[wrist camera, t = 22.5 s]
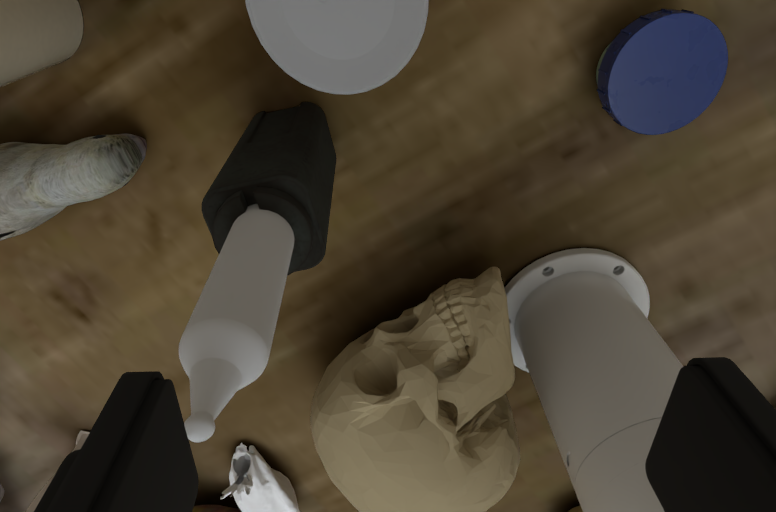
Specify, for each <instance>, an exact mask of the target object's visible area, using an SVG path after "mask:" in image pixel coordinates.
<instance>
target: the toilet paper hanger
mask: <svg viewBox="0 0 776 512" xmlns="http://www.w3.org/2000/svg"><path fill="white" fill-rule="evenodd" d="M4 492H5V491H4V489H3V487H2V485H1V483H0V502H1V500H2V497H3V495H4Z"/></svg>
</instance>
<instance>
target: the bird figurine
mask: <svg viewBox="0 0 776 512" xmlns="http://www.w3.org/2000/svg"><path fill="white" fill-rule="evenodd" d="M229 481H230V486H229V488H227V489H226V490H224V491H223V492H222V494H224V495H223V496H220V499H224V498H225V497H227V496H228V495H229V494H232V495H233V496H234V499H235V502H236V503H237V505H238V507H239V508H240V510H241V511H242V512H301V511H300V510H299V509H298V503H297V498H296V495H295V491H294V489H293V487H292V485H291V482H290V480H289V479H288V478H287V477H286V476H284V475H283V474H282V473H281V472H279V471H276V470H274V469H272V468H271V467H270V466H269V465H268V464H267V462H266V461H265V460H264V459H263V457H262V456H261V455H260V454H259V452H258V451H257V450H256V448H255V447H254V446H253V445H251V446H249V451H247V446H245V445H243V444H242V443H241V444H240V446H237V447H236V453H234V455H233V458H232V462H231V470H230V473H229ZM232 495H231V496H230V497H232Z"/></svg>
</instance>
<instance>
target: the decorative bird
mask: <svg viewBox="0 0 776 512" xmlns="http://www.w3.org/2000/svg"><path fill="white" fill-rule="evenodd" d="M146 149H147V143H146V140H145V139H144V138H142V137H139V136H136V135H132V134H116V135H97V136H93V137H87V138H83V139H80V140H77V141H74V142H72V143H69V144H67V145H57V144H32V143H24V142H8V143H3V144H0V240H4V239H7V238H10V237H14V236H17V235H20V234H23V233H25V232H27V231H29V230H31V229H33V228H35V227H37V226H39V225H40V224H42V223H44V222H46V221H47V220H49V219H50V218H52V217H53V216H55V215H56V214H58V213H59V212H60V211H62V210H63V209H64V208H65V207H66V206H68V205H72V204H75V203H79V202H86V201H91V200H94V199H97V198H101V197H103V196H105V195H107V194H110V193H112V192H114V191H116V190H117V189H119V188H121V187H122V186H124V185H126V184H127V183H128V182H129V180H130V179H131V178H132V177H133V176H134V174H135V173H136V172H137V170H138V169H139V167H140V165H141V163H142V162H143V160H144V158H145V154H146Z"/></svg>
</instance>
